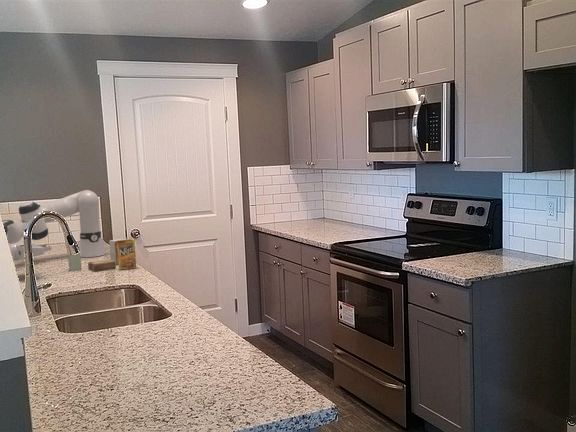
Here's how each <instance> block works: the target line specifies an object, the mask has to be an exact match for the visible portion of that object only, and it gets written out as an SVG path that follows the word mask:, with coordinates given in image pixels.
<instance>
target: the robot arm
mask: <svg viewBox="0 0 576 432" xmlns="http://www.w3.org/2000/svg"><path fill="white" fill-rule="evenodd" d="M99 200H100V199H99V197H98V195H97V194H96V193H95V191H92V190H89V189H84V190H80V191H79V192H76V193H73V194H70V195H67V196H64V197H62V198H59V199H56V200H52V201H49V202H48V203H45V204H42V205H40V204H38V203H37V202H35V201H26V202H24V203H22V204H21V205H20V206H18V207H19V208H18V213H19V215H20V218H21V219H18V218H17V219H12V220H11V219H2V220H1V221H2V222H3V225H4V229H5V232H6V236H7V240H8V243H9V244H8V245H9V247H10V250H11V253H12V256H13V260H14V261H13V262H17V261H24V260H26V259H25V257H24V243H23V242H22V241H21V240H22V238H23V237H24V236H23V231H24V227H25V225H26V223H27V222H28V220H29V219H30V218H31V217H32V216H34V215H35V214H37V213H39V212H42V211H55V213H56V212H57V213H59V214H60V215H62V216H63V217H64V218H68V217H70V216H73V215H76V214H78V213H79V227H80V232H79V241H78V243H77V245H79V247H80V256H81V258H94V257H100V256H103V255H106V254H109V251H107V250H106V244H105V240H104V239H103V238H102V231H101V225H100V204H99ZM51 222H55V220H54V219H51V218H44V219H41V220H39V221H38V222H37V223H36V225H35V226H34V227H33V230H32V239H31V240H33V241H40V240H42V239H45V238H46V237H47V236H48V235H49V228H48V226H47V223H51ZM20 241H21V242H20ZM31 244H32V253H33V257H38V256H42V255H45V252H48V251H52V246H47V244H35V243H31ZM33 257H32V258H33Z"/></svg>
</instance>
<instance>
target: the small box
mask: <svg viewBox="0 0 576 432" xmlns="http://www.w3.org/2000/svg"><path fill="white" fill-rule="evenodd" d="M122 239H123V238H118V239H111V240H108V241H109V254H110V260H112V261H114V262H115V264H116V265H118V266H119V263H118V250H117V240H122Z"/></svg>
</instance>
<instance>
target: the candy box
mask: <svg viewBox="0 0 576 432" xmlns="http://www.w3.org/2000/svg"><path fill="white" fill-rule="evenodd" d="M121 239H122V240H117V250H118V263H119V264H118V270H119V271H120V270H130V269H137V256H136V243H135V238H121Z"/></svg>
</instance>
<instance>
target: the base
mask: <svg viewBox="0 0 576 432" xmlns="http://www.w3.org/2000/svg"><path fill="white" fill-rule="evenodd" d="M116 267H117V266H116V264H115V262H114V261H112V260H111V259H109V258H105V259H99V260H91V261H89V262H88V263H87V268H88V270H89V271H92V272H95V273H97V272H103V271H108V270H116V269H117V268H116Z"/></svg>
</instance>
